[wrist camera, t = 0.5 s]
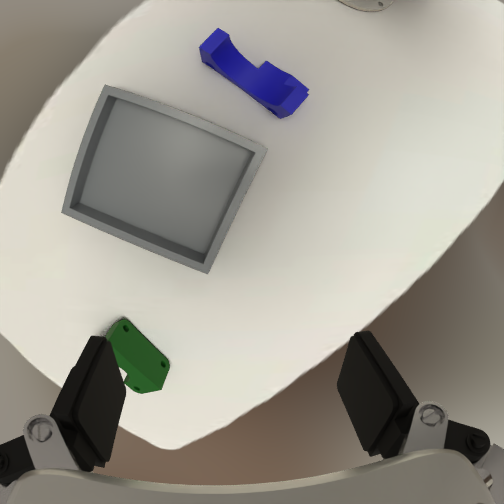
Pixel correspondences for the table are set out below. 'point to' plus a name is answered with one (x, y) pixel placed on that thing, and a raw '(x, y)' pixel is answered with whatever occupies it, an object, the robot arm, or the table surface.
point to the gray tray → (160, 177)
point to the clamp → (137, 358)
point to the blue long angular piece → (253, 76)
